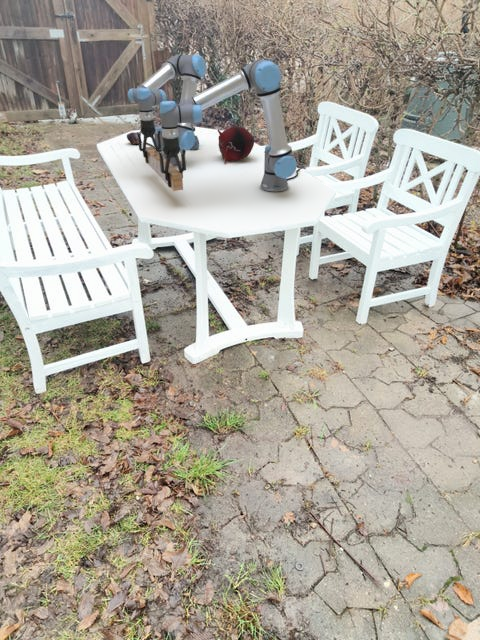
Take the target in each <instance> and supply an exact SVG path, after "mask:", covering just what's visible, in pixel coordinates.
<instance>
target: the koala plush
mask: <svg viewBox="0 0 480 640" xmlns="http://www.w3.org/2000/svg"><path fill="white" fill-rule="evenodd" d="M191 127H192V128H193V132H194V133H195V132H196V127H195V126H194V125H193V123H191ZM199 148H200V140H199V138H198V135H195V142H194V145H193V147H192V148H191V149H190V150H191V151H192V150H193V151H194V150H198V149H199Z"/></svg>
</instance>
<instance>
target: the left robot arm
mask: <svg viewBox="0 0 480 640" xmlns="http://www.w3.org/2000/svg"><path fill="white" fill-rule="evenodd" d="M206 74H207V65H206V61H205V58H204V57H203V56H202V55H199V54H186V53H185V54H183V53H180V54H176V55H173V56H171V57H170V58H168V59H167V60H166V61H164V62H163V63H162V64H161V67H160V68H159V69H158V70H156V71H155V72H154V73H153V74H152V75H151V76H150V77H148V78H147V79H146V80H144V81H143V82H142V83H141V84H140V85H138V86H137V87H136V88H135V87H133V88H130V89H129V90H128V92H127V98H128V101H129V102H130V103H133V104H137V105H138V114H139V120H140V121H139V123H140V130H139V131H138V132H137V131H136V132H135V133H136V134H137V136H138V144H137V145H138V150H139V151H140V152H142V156H143V158H144V160H146V161H145V163H146V164H147V165H148V158H147V152H146V151H145V150H146V147H147V146H149V147H153V148H154V149H155V150H156V151H158V152H161V151H163V138H164V137H163V136H162V126H161V125H159V126H155V119H154V108H153V107H155V106H160V103H161V102H163V101H167V93H166V92H165V91H164V90H163V89H160V88H161V87H162V86H164V85H165V84H166V83H167V82H168V81H170V80H173V79H174V78H176V77H181V79H182V88H181V93H180V94H181V95H180V100H179V103H180V102H181V101H182V100H187V99H189V98H191V97H193V96H195V95H197V89H198V84H200V83H201V80H202V78H204V77H205V76H206ZM191 124H192V123H178V124H177V126H178V138H179V147H180V149H184V150H185V151H189V150H191V148H192V147H193V145H194V142H195V136H196V134H195V131H194V132H193V128H192V127H191ZM142 135H143V140H142V137H141V136H142ZM149 138H151V141H152V144H151V143H149V142H147V140H148V139H149ZM141 141H142V143H141ZM163 157H164V158H165V159H166V155H165V153H163ZM170 163H171V164H172V165H173V166H174V167H175V166H177V163H176V160H175V158H174V157H173V158H171V159H170Z"/></svg>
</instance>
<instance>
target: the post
mask: <svg viewBox="0 0 480 640" xmlns="http://www.w3.org/2000/svg"><path fill="white" fill-rule="evenodd" d="M145 151H146V152H147V158H148V164H147V165H148V166H149V168H151V169H152V170H153V171H154V173H156V174H157V175H158V176H159V177H160V179H161V180H162V181H163V182H164V183H165V184H166V185H167V186H168V181H166V179H165V174H164V173H162V172H161V169H160V158H159V155H158V151H156V149H154V148H153V147H152V146H146V150H145ZM144 160H145V159H144ZM144 162H146V160H145V161H144ZM163 162H164V170H165V164H166V159H165V158H164V157H163ZM168 173H169V174H170V183H171V187H169V188H170V189H171V190H172V191H173V192H176V191H177V192H178V191H183V190H184V183H183V178H182V173H181V172H180V171H179V169H178V168H176V167H175V165H174V166H173V165H172V164H171V163H169V170H168Z"/></svg>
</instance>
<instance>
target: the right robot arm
mask: <svg viewBox="0 0 480 640" xmlns="http://www.w3.org/2000/svg"><path fill="white" fill-rule="evenodd" d="M281 82H282V72H281V70H280V68H279V66H278V65H277V64H276V63H275V62H273V61H271V60H266V59H262V58H259V59H256V60H254V61H253V62H251V63H249V64H247V65H245V66H243V67H242V68H240V69H239V70H238V72H237V73H236V74H234V75H232V76H229V77H228V78H225V79H223V80H222V81H220V82H218V83H217V84H214V85H213V86H211V87H209V88H207V89H205V90H203V91H201V92H199V93H196V95H195V96H193V97H191V98H189V99H187V100H182V101H181V102H180V101H179V103H178V105H177V104H176V101H174V100H166V101H163V102H161V103H160V105H159V116H160V126H162V136H163V137H164V138H163V151H161V152H158V155H159V158H160V169H161V172H162V173H164V174H165V179H166V181H168V185H167V187H168V188H170V187H171V183H170V174H169V173H168V170H169V163H170V159H171V158H173V157H174V158H175V160H176V163H177V165H176V166H177V170H178V171H180V172H181V173H182V179H184V174H183V173H184V172H185V171H187V163H186V151H187V150H184V149H180V147H179V138H178V126H177V124H178V123H191V124H197V123H202V122H203V115H204V114H203V111H205V110H207V109H209V108H211V107H212V106H214V105H216V104H218V103H220V102H223V101H224V100H226V99H228V98H230V97H232V96H234V95H235V94H238V93H240V92H242V91H243V90H247V91H248V90H251V89H253V88H254V89H255V93H256V97H257V98H258V99H260V101H261V106H262V111H263V116H264V120H265V121H264V122H265V126H266V131H267V135H268V140H269V144H268V145H266V146H265V147H264V152H263V153H264V162H263V163H264V165H263V167H264V168H263V169H264V171H263V176H262V178H261V179H262V180H261V182H260V189H261V190H263V191H266V192H269V193H270V192H272V193H273V192H274V193H280V192H284V191H287V190H288V188H289V183H288V181H289V180H292V179H295V178H296V177H298V176H299V171H300V170H307V168H306V167H305V166H304V167H303V166H302V167H300V168H297V165H298V164H297V161H296V159H295V157H294V154H293V149H292V146H290V145H289V144H288V139H287V133H286V128H285V127H286V126H285V121H284V116H283V111H282V110H283V109H282V105H281V99H280V93H281V91H282V87H281ZM163 153H165V155H166V164H165V170H164V162H163ZM179 154H180V158H181V161H180V158H179ZM295 172H296V174H295V175H294V173H295ZM293 175H294V176H293Z"/></svg>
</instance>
